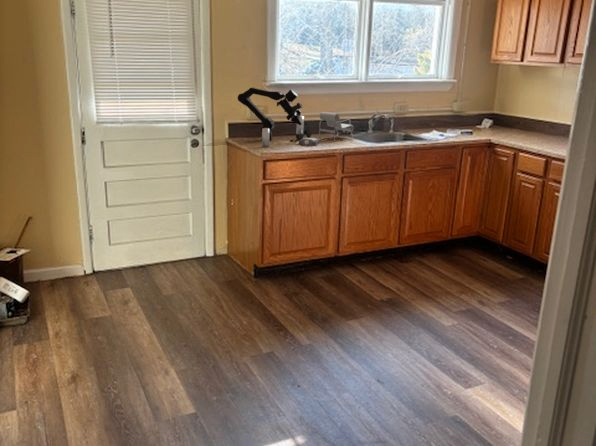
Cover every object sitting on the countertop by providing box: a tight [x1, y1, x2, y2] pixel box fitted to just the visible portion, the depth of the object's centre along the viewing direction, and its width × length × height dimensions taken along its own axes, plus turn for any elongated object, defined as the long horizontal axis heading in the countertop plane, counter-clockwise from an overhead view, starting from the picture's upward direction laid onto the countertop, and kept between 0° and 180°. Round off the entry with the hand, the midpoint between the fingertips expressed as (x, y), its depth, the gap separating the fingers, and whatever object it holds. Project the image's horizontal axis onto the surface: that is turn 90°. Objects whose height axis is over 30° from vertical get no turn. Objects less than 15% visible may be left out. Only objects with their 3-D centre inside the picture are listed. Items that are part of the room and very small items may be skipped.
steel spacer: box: [295, 115, 305, 135], centre depth 392 cm, size 5×5×12 cm
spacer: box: [261, 127, 270, 149], centre depth 374 cm, size 5×5×12 cm
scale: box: [298, 137, 321, 147], centre depth 392 cm, size 12×15×4 cm
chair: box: [318, 111, 355, 142], centre depth 415 cm, size 13×25×20 cm, turn 141°
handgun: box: [295, 121, 312, 141], centre depth 412 cm, size 2×17×12 cm, turn 150°
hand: (302, 124), depth 392 cm, fingers closed on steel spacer, 5 cm apart
